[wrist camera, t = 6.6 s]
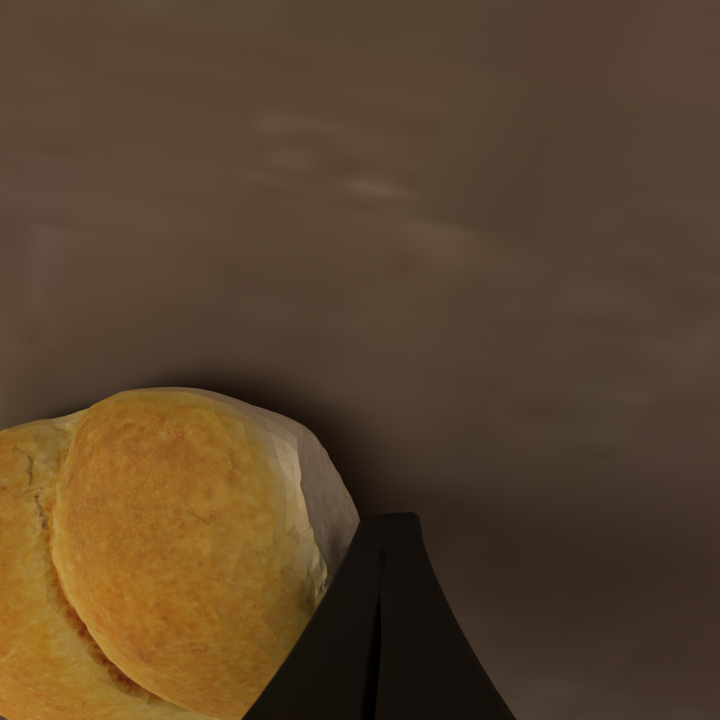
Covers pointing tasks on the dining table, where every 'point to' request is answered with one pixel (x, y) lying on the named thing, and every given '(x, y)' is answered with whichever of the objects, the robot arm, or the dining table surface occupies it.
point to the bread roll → (160, 555)
